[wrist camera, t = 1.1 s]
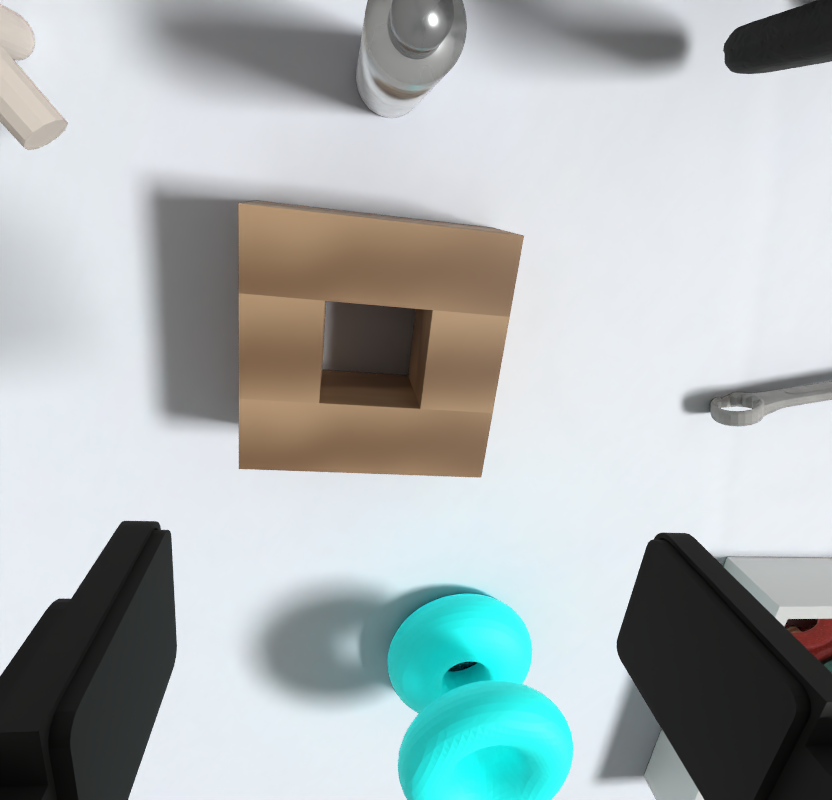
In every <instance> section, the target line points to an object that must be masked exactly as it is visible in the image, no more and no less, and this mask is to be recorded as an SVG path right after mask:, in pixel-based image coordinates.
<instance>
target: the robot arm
mask: <svg viewBox="0 0 832 800" xmlns="http://www.w3.org/2000/svg"><path fill="white" fill-rule="evenodd" d="M176 650H177V641H176V621H175V601H174V581H173V561H172V542H171V533H170V531H169V530H161V528H160V524H159V523H158V522H154V521H123V522H122V523H121V524H120V525H119V526H118V528H117V529H116V531H115V533H114V534H113V536H112V537H111V539H110V540H109V542H108V543H107V545H106V546H105V548H104V549H103V551H102V552H101V554H100V556H99V557H98V559H97V560H96V562H95V563H94V565H93V566H92V568H91V569H90V571H89V572H88V574H87V575H86V577H85V579H84V580H83V582H82V583H81V585H80V586H79V588H78V589H77V591H76V592H75V594H74V595H73V597H72V598H71V599H58V600H56V601H54V602H53V603H52V604H51V605H50V606H49V607H48V609H47V610H46V611H45V613H44V614H43V616H42V617H41V618H40V620H39V621H38V623H37V624H36V626H35V627H34V629H33V630H32V631H31V633H30V634H29V636H28V637H27V639H26V640H25V642H24V643H23V644H22V646H21V647H20V649H19V650H18V652H17V653H16V654H15V656H14V657H13V659H12V660H11V662H10V663H9V665H8V666H7V667H6V669H5V670H4V672H3V673H2V675H1V676H0V800H128V798H129V795H130V792H131V789H132V786H133V783H134V780H135V777H136V775H137V772H138V769H139V766H140V763H141V760H142V757H143V754H144V751H145V748H146V746H147V743H148V740H149V737H150V734H151V731H152V728H153V725H154V722H155V720H156V717H157V714H158V711H159V708H160V705H161V702H162V699H163V696H164V693H165V691H166V688H167V685H168V682H169V679H170V676H171V673H172V670H173V667H174V663H175V658H176ZM617 651H618V655H619V657H620V660H621V661H622V663H623V665H624V666H625V668H626V670H627V671H628V673H629V675H630V676H631V678H632V680H633V681H634V683H635V685H636V686H637V688H638V690H639V692H640V693H641V695H642V697H643V698H644V700H645V702H646V703H647V705H648V707H649V708H650V710H651V712H652V713H653V715H654V717H655V718H656V720H657V722H658V723H659V725H660V727H661V728H662V730H663V732H664V733H665V735H666V737H667V738H668V740H669V742H670V743H671V745H672V747H673V748H674V750H675V752H676V753H677V755H678V757H679V758H680V760H681V762H682V763H683V765H684V767H685V768H686V770H687V772H688V773H689V775H690V777H691V778H692V780H693V782H694V784H695V785H696V787H697V789H698V790H699V792H700V794H701V795H702V797H703V799H704V800H832V673H831V672H830V671H829V670H828V669H827V668H826V667H825V666H824V665H823V664H822V663H821V662H820V661H819V660H818V659H817V658H816V657H815V656H814V655H813V654H812V653H811V652H810V651H809V650H808V649H807V648H806V647H805V646H804V645H803V644H801V643H800V642H799V641H798V640H797V639H796V638H795V637H794V636H793V635H792V634H791V633H790V632H789V631H788V630H787V629H786V628H785V627H784V626H783V625H782V624H781V623H780V622H779V621H778V620H777V619H776V618H775V617H774V616H773V615H772V614H771V613H770V612H769V611H768V610H767V609H766V608H765V607H764V606H763V605H762V604H761V603H760V602H759V601H758V600H757V599H756V598H755V597H754V596H753V595H752V594H751V593H750V592H749V591H748V590H747V589H746V588H745V587H744V586H743V585H741V584H740V583H739V582H738V581H737V580H736V579H735V578H734V577H733V576H732V575H731V574H730V573H729V572H728V571H727V570H726V569H725V568H724V567H723V566H722V565H721V564H720V563H719V562H718V561H717V560H716V559H715V558H714V557H713V556H712V555H711V554H710V553H709V552H708V551H707V550H706V549H705V548H704V547H703V546H702V545H701V544H700V543H699V542H698V541H697V540H696V539H695V538H694V537H692V536H691V535H690V534H686V533H659V534H658V535H657V536H656V537H655V538H654V540H651V541H650V542H649V543H648V545H647V547H646V550H645V553H644V556H643V560H642V563H641V566H640V569H639V572H638V575H637V579H636V582H635V585H634V588H633V591H632V594H631V597H630V601H629V604H628V607H627V610H626V613H625V616H624V620H623V623H622V626H621V629H620V632H619V635H618V639H617Z"/></svg>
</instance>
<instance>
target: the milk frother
mask: <svg viewBox="0 0 832 800" xmlns="http://www.w3.org/2000/svg"><path fill="white" fill-rule="evenodd" d="M723 51H724V53H725V64H726V66H727V67H728V68H729V69H730V70H731V71H732V72H735V73H741V74H754V73H766V72H773V71H779V70H784V69H790V68H796V67H802V66H807V65H813V64H819V63H825V62H830V61H832V0H817V1H813V2H811V3H808V4H805V5H802V6H800V7H797V8H793V9H790V10H787V11H784V12H782V13H779V14H775V15H772V16H769V17H767V18H764V19H760V20H757V21H754V22H751V23H748V24H746V25H743V26H741V27H738V28H737V29H735V30H734V32H733V33H732V34H731V35H730V36H729V38H728V39H727V41H726V43H725V44H724V50H723Z"/></svg>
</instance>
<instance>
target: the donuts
mask: <svg viewBox="0 0 832 800" xmlns="http://www.w3.org/2000/svg"><path fill="white" fill-rule="evenodd" d="M531 658H532V645H531V639H530V635H529V632H528V630H527V628H526V626H525V624H524V622H523V621H522V619H521V618H520V617H519V616H518V614H517V613H516V612H515V611H514V610H513V609H512V608H510V607H509V606H507V605H506V604H504V603H502V602H501V601H499V600H497V599H494V598H492V597H489V596H485V595H480V594H455V595H449V596H445V597H441V598H439V599H436V600H434V601H431V602H429V603H427V604H425V605H423V606H422V607H420V608H419V609H417V610H416V611H415V612H413V613H412V614H411V615H410V616H409V617H408V618H407V619H406V620H405V621H404V622H403V623H402V624H401V626H400V627H399V629H398V630H397V632H396V634H395V635H394V637H393V639H392V642H391V645H390V648H389V653H388V661H387V664H388V674H389V678H390V681H391V684H392V686H393V688H394V690H395V692H396V693H397V695H398V696H399V697H400V699H401V700H402V701H403V702H404V703H405V704H406V705H407V706H408V707H410V708H411V709H413V710H414V711H416V712H417V713H419V714H418V715H417V717H416V718H415V719H414V721H413V722H412V724H411V725H410V727H409V728H408V730H407V732H406V734H405V736H404V739H403V741H402V744H401V747H400V751H399V759H398V773H399V780H400V784H401V787H402V789H403V792H404V794H405V796H406V798H407V800H551V799H552V798H553V797H554V796H555V795H556V794H557V793H558V791H559V790H560V788H561V787H562V785H563V783H564V781H565V780H566V778H567V775H568V773H569V771H570V768H571V764H572V757H573V742H572V736H571V732H570V729H569V726H568V724H567V721H566V719H565V717H564V716H563V714H562V713H561V711H560V710H559V709H558V707H557V706H556V705H555V704H554V703H553V702H552V701H551V700H550V699H549V698H547V697H546V696H545V695H543V694H542V693H540V692H539V691H537V690H535V689H533V688H530V687H528V686H526V685H523V682H524V680H525V678H526V676H527V674H528V671H529V668H530V664H531ZM469 661H472V662H478V663H477V664H475V665H473V666H471V667H469V668H467V669H464V670H460V671H448V670H449V669H450V668H452V667H453V666H455V665H457V664H459V663H463V662H469Z"/></svg>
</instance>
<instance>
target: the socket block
mask: <svg viewBox="0 0 832 800" xmlns="http://www.w3.org/2000/svg"><path fill="white" fill-rule="evenodd" d="M238 229H239V469H259V470H287V471H315V472H343V473H371V474H399V475H427V476H455V477H481V475H482V469H483V464H484V458H485V453H486V447H487V441H488V436H489V430H490V424H491V419H492V413H493V407H494V402H495V396H496V390H497V385H498V379H499V373H500V368H501V362H502V356H503V351H504V345H505V340H506V334H507V328H508V323H509V317H510V311H511V306H512V300H513V294H514V289H515V283H516V277H517V272H518V266H519V260H520V255H521V249H522V244H523V238H524V236H523V235H519V234H515V233H511V232H507V231H503V230H500V229H496V228H490V227H481V226H473V225H464V224H455V223H447V222H438V221H429V220H421V219H412V218H403V217H394V216H386V215H377V214H368V213H360V212H351V211H342V210H334V209H325V208H316V207H308V206H299V205H290V204H282V203H273V202H264V201H250V202H244V203H238ZM326 301H333V302H345V303H356V304H368V305H379V306H390V307H402V308H413V309H416V311H415V319H414V328H413V337H412V346H411V354H410V363H409V372H408V375H394V374H378V373H363V372H348V371H333V370H322V363H323V345H324V327H325V309H326Z"/></svg>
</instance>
